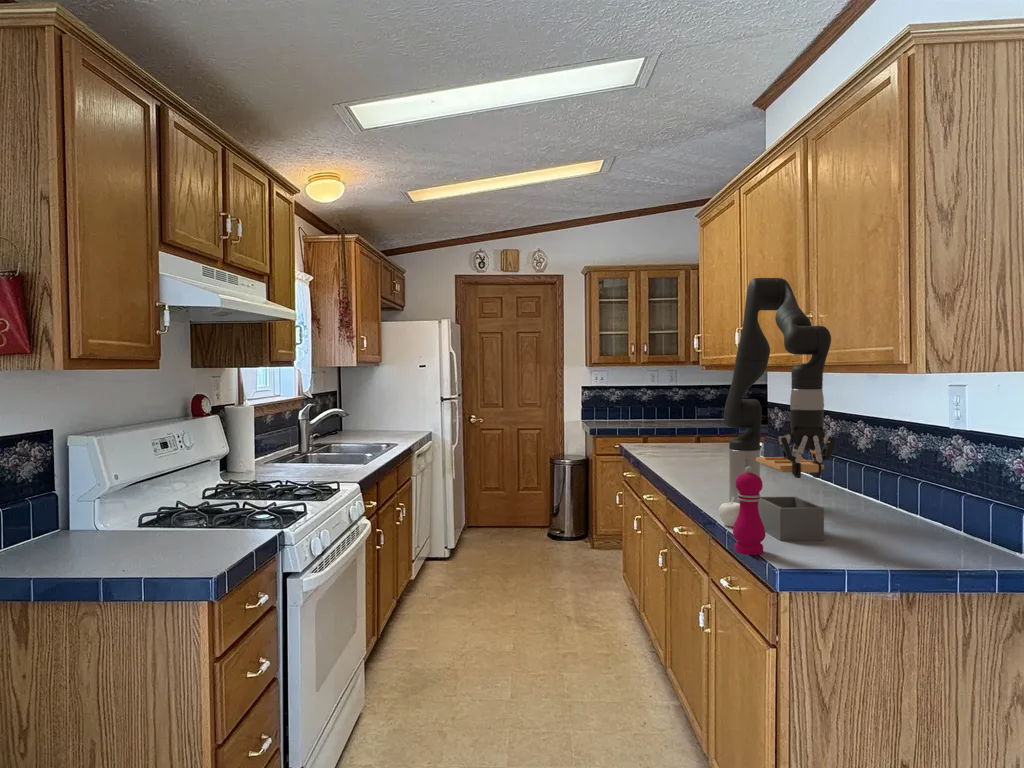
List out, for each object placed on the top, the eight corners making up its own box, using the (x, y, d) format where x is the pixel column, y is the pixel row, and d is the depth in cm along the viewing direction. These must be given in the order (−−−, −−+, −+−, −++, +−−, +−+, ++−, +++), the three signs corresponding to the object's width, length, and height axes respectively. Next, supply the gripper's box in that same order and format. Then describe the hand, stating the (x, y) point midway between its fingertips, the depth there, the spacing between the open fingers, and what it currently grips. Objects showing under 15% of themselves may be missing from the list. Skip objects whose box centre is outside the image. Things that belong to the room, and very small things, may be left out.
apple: (725, 528, 184) (725, 499, 183) (714, 523, 191) (714, 494, 190) (750, 528, 184) (750, 498, 184) (739, 522, 191) (739, 493, 191)
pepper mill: (726, 549, 162) (726, 465, 162) (749, 546, 165) (749, 463, 165) (747, 557, 155) (747, 469, 155) (772, 553, 158) (772, 467, 158)
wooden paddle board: (755, 463, 186) (755, 454, 186) (796, 463, 186) (796, 453, 186) (787, 475, 166) (787, 465, 166) (832, 475, 166) (832, 464, 166)
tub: (755, 526, 186) (755, 496, 186) (795, 525, 187) (795, 496, 187) (780, 540, 170) (780, 508, 170) (823, 540, 171) (823, 508, 171)
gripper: (828, 406, 171) (827, 475, 172) (771, 407, 171) (771, 475, 171) (843, 408, 164) (843, 479, 164) (784, 408, 163) (784, 480, 164)
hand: (806, 477), depth 168 cm, fingers closed on wooden paddle board, 4 cm apart
